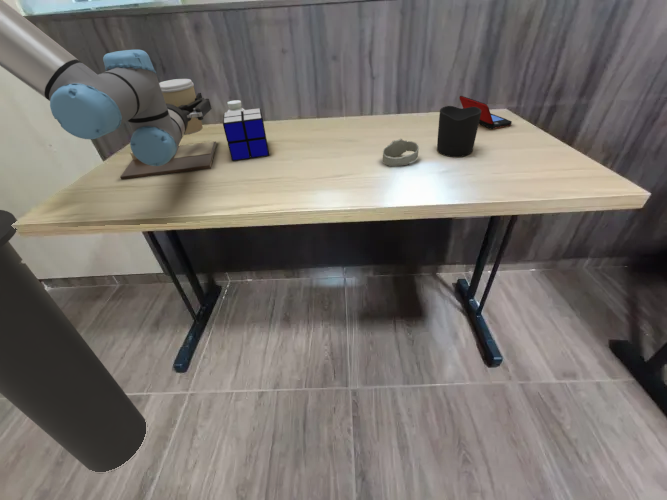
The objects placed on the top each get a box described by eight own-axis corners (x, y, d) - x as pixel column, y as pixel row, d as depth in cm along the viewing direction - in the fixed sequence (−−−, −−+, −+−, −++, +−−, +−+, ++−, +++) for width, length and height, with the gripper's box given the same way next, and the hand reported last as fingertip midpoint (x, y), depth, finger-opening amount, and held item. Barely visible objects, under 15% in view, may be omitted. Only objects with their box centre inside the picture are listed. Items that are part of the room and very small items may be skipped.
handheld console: (513, 125, 101) (519, 98, 97) (481, 132, 99) (486, 104, 94) (484, 114, 111) (489, 89, 106) (454, 120, 108) (458, 94, 104)
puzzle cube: (231, 161, 93) (222, 123, 87) (231, 148, 101) (223, 112, 95) (269, 155, 94) (262, 118, 88) (266, 143, 102) (260, 107, 96)
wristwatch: (411, 153, 90) (413, 134, 87) (423, 163, 85) (425, 142, 82) (378, 159, 88) (378, 140, 85) (388, 169, 83) (388, 149, 80)
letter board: (121, 179, 88) (116, 169, 86) (140, 153, 102) (136, 143, 101) (210, 168, 90) (207, 157, 89) (216, 143, 105) (214, 134, 103)
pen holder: (455, 141, 95) (461, 102, 89) (482, 152, 88) (490, 111, 82) (427, 149, 91) (431, 109, 85) (453, 161, 85) (459, 119, 79)
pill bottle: (249, 136, 108) (242, 103, 102) (231, 138, 108) (223, 105, 102) (250, 130, 112) (243, 98, 107) (233, 132, 112) (225, 100, 106)
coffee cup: (184, 124, 100) (169, 78, 93) (212, 125, 98) (199, 78, 91) (163, 135, 93) (145, 87, 86) (193, 136, 91) (177, 86, 84)
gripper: (124, 147, 79) (148, 118, 97) (220, 136, 81) (226, 109, 99) (109, 113, 75) (137, 89, 93) (211, 102, 77) (219, 80, 95)
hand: (183, 100), depth 96 cm, fingers closed on coffee cup, 8 cm apart
